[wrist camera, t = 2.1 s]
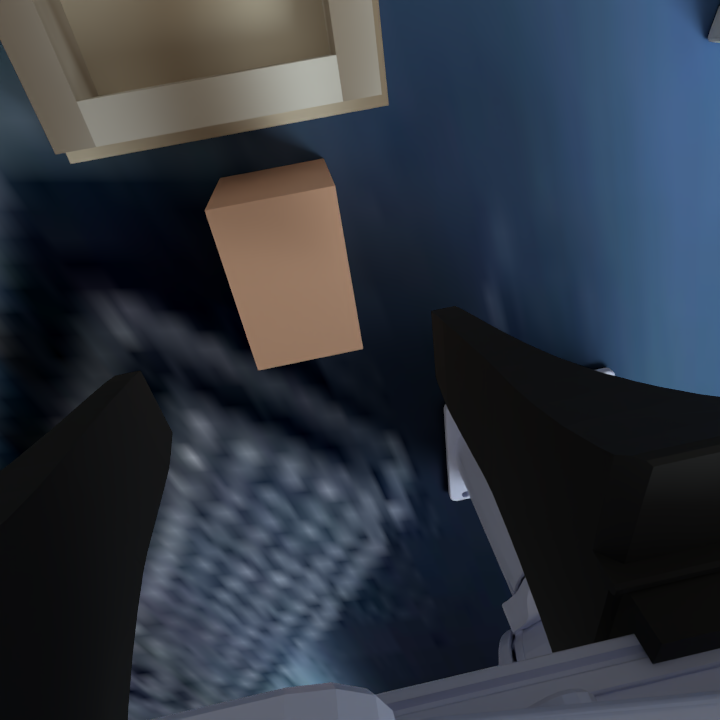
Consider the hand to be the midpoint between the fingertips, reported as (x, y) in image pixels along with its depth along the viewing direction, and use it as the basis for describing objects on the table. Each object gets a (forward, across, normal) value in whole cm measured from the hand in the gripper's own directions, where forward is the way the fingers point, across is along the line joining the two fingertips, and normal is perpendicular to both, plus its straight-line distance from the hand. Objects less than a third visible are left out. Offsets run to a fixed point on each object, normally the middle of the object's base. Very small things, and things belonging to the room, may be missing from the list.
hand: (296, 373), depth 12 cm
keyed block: (+10, 0, 0) cm, 10 cm away
